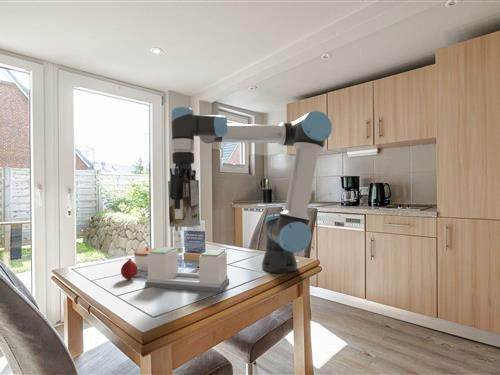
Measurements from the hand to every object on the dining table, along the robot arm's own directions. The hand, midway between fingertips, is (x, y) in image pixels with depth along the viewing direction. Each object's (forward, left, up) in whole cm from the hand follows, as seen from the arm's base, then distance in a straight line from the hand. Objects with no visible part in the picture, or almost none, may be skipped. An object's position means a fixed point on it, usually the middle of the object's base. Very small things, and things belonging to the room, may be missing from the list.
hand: (184, 217), depth 99 cm
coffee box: (0, 0, -3) cm, 3 cm away
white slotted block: (0, -2, -24) cm, 24 cm away
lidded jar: (+26, -17, -25) cm, 40 cm away
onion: (+24, -2, -25) cm, 34 cm away
